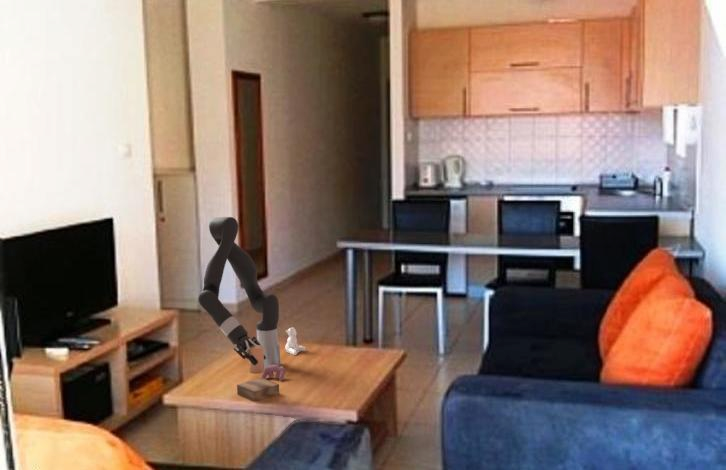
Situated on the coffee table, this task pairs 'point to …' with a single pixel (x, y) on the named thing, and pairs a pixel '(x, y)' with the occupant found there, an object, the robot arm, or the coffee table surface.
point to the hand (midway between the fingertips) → (260, 361)
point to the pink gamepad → (274, 368)
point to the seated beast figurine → (293, 342)
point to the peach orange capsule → (259, 355)
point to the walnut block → (258, 389)
